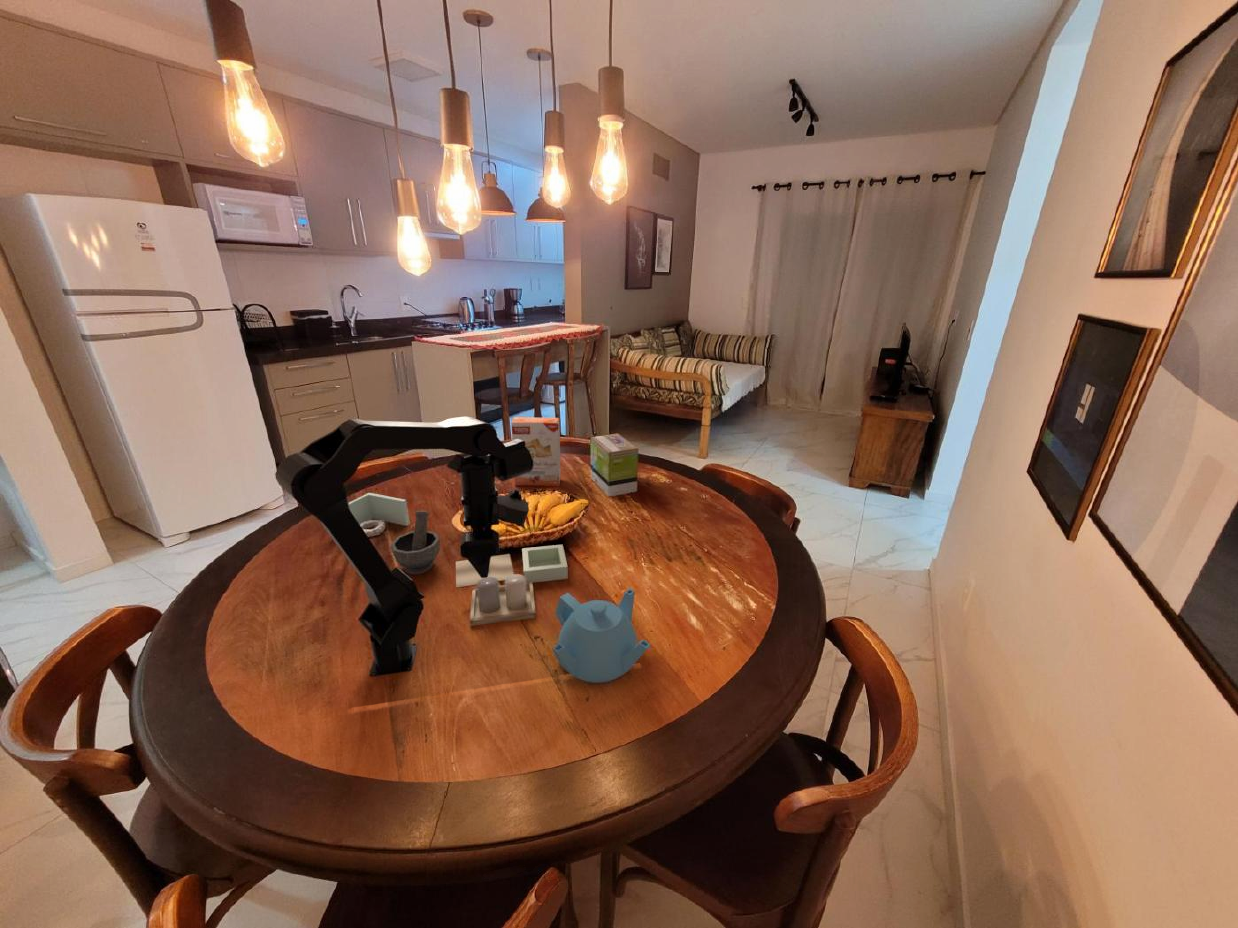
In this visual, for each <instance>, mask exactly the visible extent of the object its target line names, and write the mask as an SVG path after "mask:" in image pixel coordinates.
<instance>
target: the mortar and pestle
mask: <svg viewBox="0 0 1238 928" xmlns="http://www.w3.org/2000/svg"><path fill="white" fill-rule="evenodd" d="M429 514H430V513H429V512H428V511H427V510H417V511H415V514H414V515H415V523H414V530H413V531H409V532H406V533H403V534H401V535H399V536H397V537H396V538H395V539H394V540H393V541H392V542H391V543H390V546H391V547H390V548H391V553H392V554H393V556H394V558H395V560H396V562H397V563H398V565H400V566H401V567H403V569H404V571H405V574H406V573H407V574H409V575H410V574H411V575H419V574H424V573H426V572H428V571H430V570H431V569H432V568H433V566H434V565H435V563H434V561H435V559H436V558H437V556H438V554H439V553H440V549H441V541H440V540H441V539H440V537H439V535H438V534H437V532H436V531H435V532H434V531H430V530H428V517H429V516H430V515H429Z"/></svg>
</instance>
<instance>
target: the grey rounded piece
mask: <svg viewBox="0 0 1238 928" xmlns="http://www.w3.org/2000/svg"><path fill="white" fill-rule="evenodd" d="M499 586H500V584H499V581H498V580H497V579H496V578H494V577H487V578H483V579H481V580H479V581H478V582H477V585H476V588H477V591H478V601H479V609H480V611H481V612H483V613H492V612H495V611H497V610H498V609H499V608H500V596H499Z"/></svg>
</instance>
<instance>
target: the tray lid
mask: <svg viewBox="0 0 1238 928" xmlns="http://www.w3.org/2000/svg"><path fill="white" fill-rule="evenodd" d="M512 563H513V562H512V558H511V554H510V553H507V554H506V553H505V554H499V555H493V556H491V559H490V565H489V572H488V577H494V578H496V579H497V580H498V582H503V581H504V582H505V579H506V578H507V577H508V576H510V575H513V574H515V573H514V569H513V564H512ZM481 579H483V578H481V577H480V575H479V574H478V573H477V571H476V570H475V568H474V567H473V566H472V564H471V563H470V562H469V561H468V560H467V559H465V560H459V561H455V589H459V588H465V587H471V586H477V582H478V581H479V580H481Z"/></svg>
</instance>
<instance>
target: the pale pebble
mask: <svg viewBox="0 0 1238 928" xmlns="http://www.w3.org/2000/svg"><path fill="white" fill-rule="evenodd" d="M504 585H505V592H506V605H507V607H508V608H509V609H512V610H518V609H521V608H523V607H525V606H526V604H527V594H526V578H525V577H524V574H518V573H514V574H513V575H510V576H508V577H507V578H506V579H505V580H504Z"/></svg>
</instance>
